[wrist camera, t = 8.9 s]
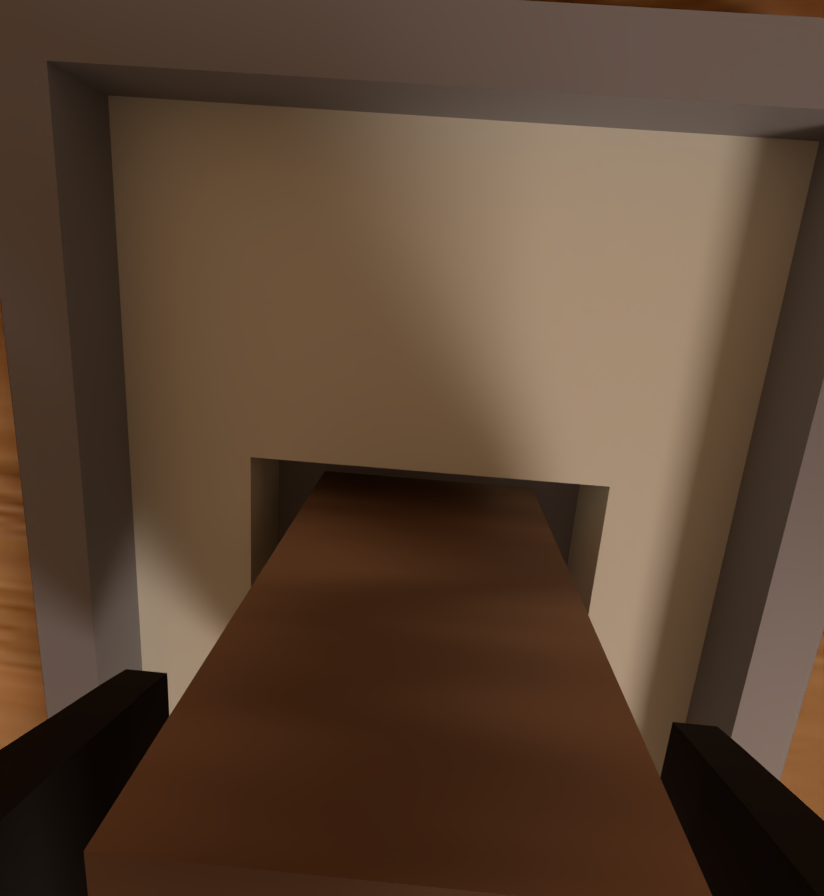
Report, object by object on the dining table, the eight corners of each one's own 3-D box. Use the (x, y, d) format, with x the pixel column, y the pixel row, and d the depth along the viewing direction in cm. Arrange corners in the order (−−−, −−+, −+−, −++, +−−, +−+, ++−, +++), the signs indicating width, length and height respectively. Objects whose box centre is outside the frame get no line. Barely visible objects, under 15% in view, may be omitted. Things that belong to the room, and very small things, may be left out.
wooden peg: (532, 488, 13) (722, 916, 4) (508, 668, 14) (615, 1293, 5) (325, 470, 13) (84, 850, 4) (318, 650, 14) (121, 1235, 5)
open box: (805, 117, 11) (998, 27, 7) (627, 917, 16) (684, 1110, 13) (124, 74, 11) (-37, -33, 8) (166, 870, 17) (83, 1043, 13)
